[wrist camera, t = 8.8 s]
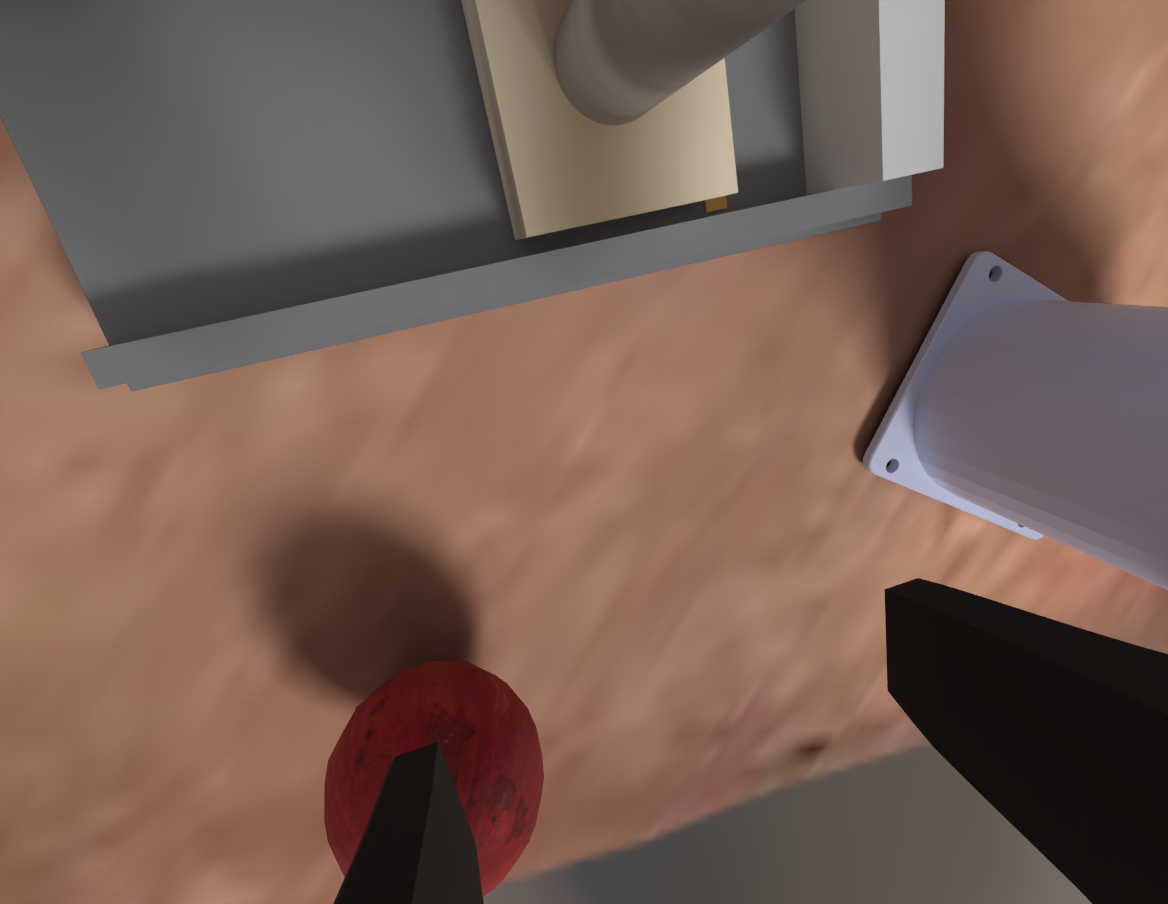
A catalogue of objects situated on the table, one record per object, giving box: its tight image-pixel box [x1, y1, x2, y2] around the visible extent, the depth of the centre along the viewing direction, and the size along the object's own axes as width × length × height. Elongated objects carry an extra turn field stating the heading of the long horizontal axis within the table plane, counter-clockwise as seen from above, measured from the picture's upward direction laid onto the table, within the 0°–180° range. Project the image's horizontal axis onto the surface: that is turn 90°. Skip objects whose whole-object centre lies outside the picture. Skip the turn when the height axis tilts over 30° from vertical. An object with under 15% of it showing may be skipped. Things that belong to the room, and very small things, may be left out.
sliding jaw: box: [461, 0, 806, 240], centre depth 10 cm, size 5×6×8 cm
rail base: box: [0, 0, 945, 392], centre depth 13 cm, size 20×9×4 cm, turn 102°
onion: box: [324, 660, 544, 896], centre depth 16 cm, size 6×6×8 cm
